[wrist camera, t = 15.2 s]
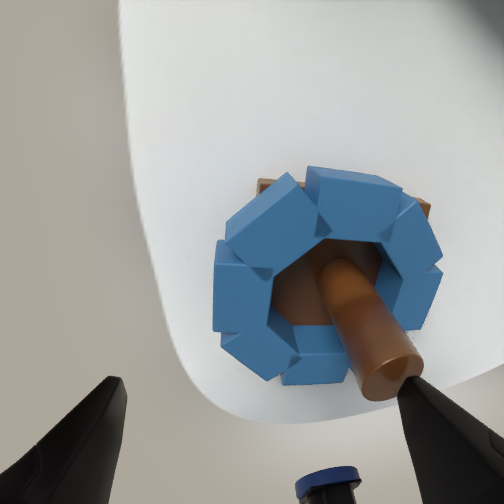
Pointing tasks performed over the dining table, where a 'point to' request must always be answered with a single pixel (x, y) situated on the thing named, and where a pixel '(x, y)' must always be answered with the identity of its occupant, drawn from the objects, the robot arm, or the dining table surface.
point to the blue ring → (301, 241)
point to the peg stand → (349, 309)
